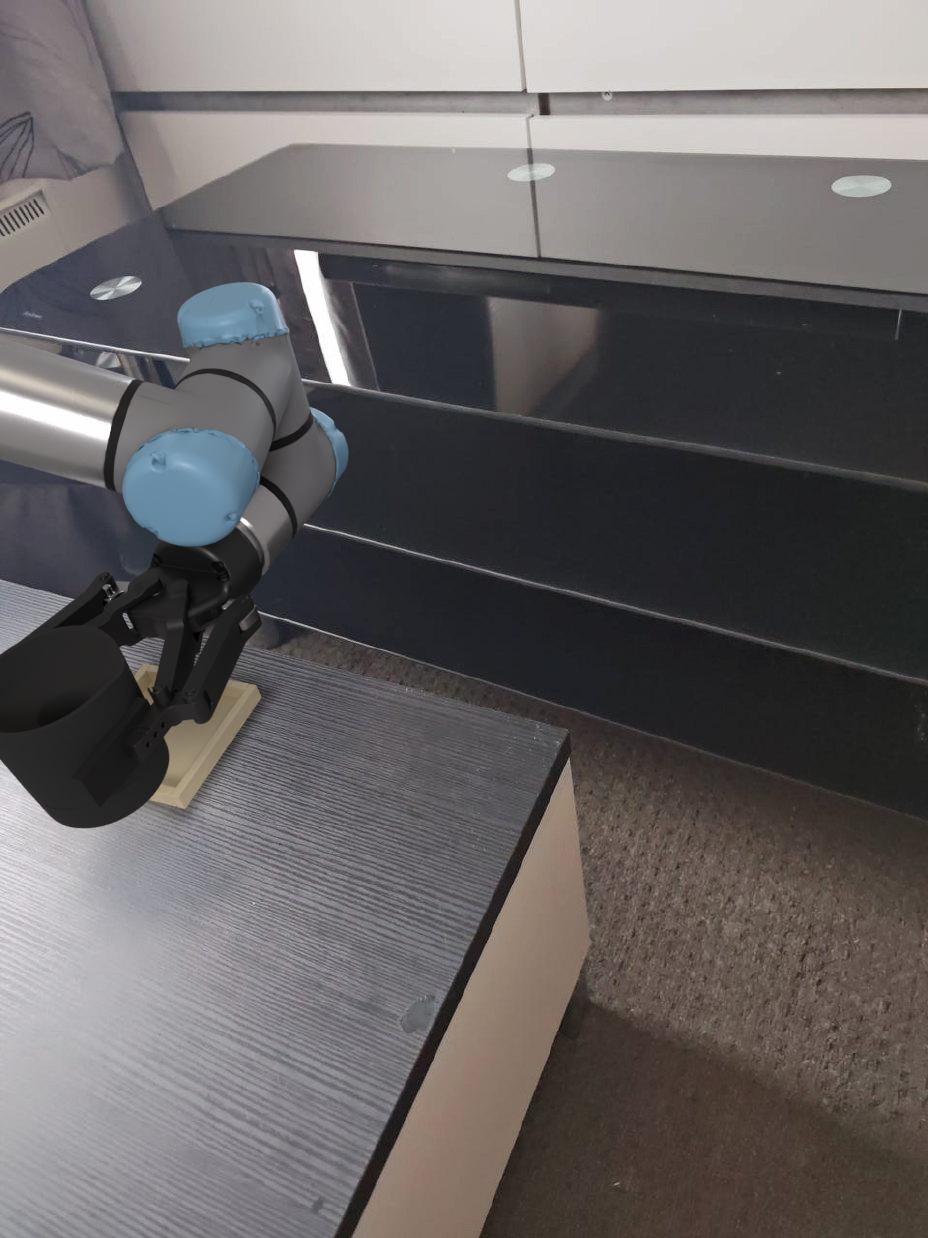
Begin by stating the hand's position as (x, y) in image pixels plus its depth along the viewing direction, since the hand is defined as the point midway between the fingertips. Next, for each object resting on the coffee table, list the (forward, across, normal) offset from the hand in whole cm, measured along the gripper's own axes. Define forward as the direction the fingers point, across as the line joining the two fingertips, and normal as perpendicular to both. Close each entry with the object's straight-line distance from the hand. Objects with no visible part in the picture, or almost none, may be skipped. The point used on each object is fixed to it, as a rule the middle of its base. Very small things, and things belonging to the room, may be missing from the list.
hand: (25, 776), depth 56 cm
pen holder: (-5, 0, -6) cm, 8 cm away
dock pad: (-16, +9, -18) cm, 26 cm away
